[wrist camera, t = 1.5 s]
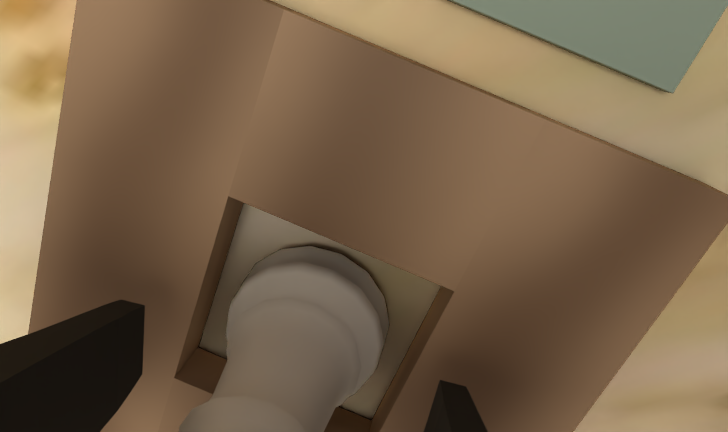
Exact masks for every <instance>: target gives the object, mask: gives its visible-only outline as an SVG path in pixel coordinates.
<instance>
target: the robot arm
mask: <svg viewBox="0 0 728 432" xmlns="http://www.w3.org/2000/svg"><path fill="white" fill-rule="evenodd" d="M144 319H145V305H142V304H138V303H134V302H130V301H126V300H122V299H121V300H118V301H115V302H111V303H109V304H106V305H103V306H100V307H98V308H95V309H92V310H90V311H87V312H85V313H82V314H79V315H77V316H74V317H72V318H69V319H67V320H64V321H62V322H59V323H56V324H54V325H51V326H49V327H46V328H43V329H41V330H38V331H36V332H33V333H30V334H28V335H25V336H22V337H19V338H16V339H13V340H11V341H8V342H5V343H2V344H0V432H100V431H101V430H102V429H103V427H104V426H105V425H106V424H107V423H108V422H109V421H110V419H111V418H112V417H113V416H114V415H115V413H116V412H117V411H118V410H119V408H120V407H121V405H122V404H123V402H124V401H125V400H126V398H127V397H128V395H129V394H130V392H131V391H132V389H133V388H134V386H135V385H136V383H137V382H138V380H139V379H140V377H141V376H142V371H143V345H144ZM424 432H488V431H487V429H486V426H485V424H484V422H483V420H482V418H481V416H480V414H479V412H478V410H477V408H476V406H475V403H474V401H473V399H472V397H471V395H470V392H469V391H468V389H467V387H466V386H462V385H458V384H455V383H451V382H447V381H443V380H440V381H439V384H438V387H437V390H436V394H435V397H434V400H433V403H432V407H431V410H430V413H429V416H428V420H427V423H426V426H425V429H424Z"/></svg>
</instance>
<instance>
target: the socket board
mask: <svg viewBox="0 0 728 432" xmlns="http://www.w3.org/2000/svg"><path fill="white" fill-rule="evenodd" d="M243 203H246V204H248V205H251V206H253V207H255V208H258V209H260V210H262V211H265V212H267V213H270V214H272V215H274V216H277V217H279V218H281V219H284V220H286V221H289V222H291V223H293V224H296V225H298V226H300V227H303V228H305V229H308V230H310V231H312V232H315V233H317V234H319V235H322V236H324V237H327V238H329V239H331V240H334V241H336V242H338V243H341V244H343V245H346V246H348V247H350V248H353V249H355V250H357V251H360V252H362V253H365V254H367V255H369V256H372V257H374V258H376V259H379V260H381V261H384V262H386V263H388V264H391V265H393V266H395V267H398V268H400V269H403V270H405V271H407V272H410V273H412V274H414V275H417V276H419V277H422V278H424V279H426V280H429V281H431V282H433V283H436V284H438V285H441V288H440V290H439V292H438V294H437V296H436V298H435V300H434V302H433V304H432V305H431V307H430V309H429V311H428V313H427V315H426V317H425V319H424V321H423V323H422V325H421V327H420V329H419V331H418V332H417V334H416V336H415V338H414V340H413V342H412V344H411V346H410V348H409V350H408V352H407V354H406V356H405V357H404V359H403V361H402V363H401V365H400V367H399V369H398V371H397V373H396V375H395V377H394V379H393V381H392V383H391V384H390V386H389V388H388V390H387V392H386V394H385V396H384V398H383V400H382V402H381V404H380V406H379V408H378V409H377V411H376V413H375V415H374V417H373V419H372V421H371V420H369V419H366V418H364V417H361V416H359V415H357V414H354V413H352V412H350V411H347V410H345V409H342V408H340V407H336V408H335V410H334V412H333V414H332V416H331V418H330V420H329V422H328V424H327V426H326V428H325V430H324V432H424V429H425V426H426V423H427V420H428V416H429V413H430V410H431V407H432V403H433V400H434V397H435V394H436V390H437V387H438V384H439V381H440V380H443V381H447V382H451V383H455V384H458V385H462V386H466V387H467V389H468V391H469V392H470V395H471V397H472V399H473V401H474V403H475V406H476V408H477V410H478V412H479V414H480V416H481V418H482V420H483V422H484V424H485V426H486V429H487V431H488V432H573V431H574V430H575V429H576V427H577V426H578V424H579V423H580V422H581V420H582V419H583V418H584V416H585V415H586V414H587V412H588V411H589V410H590V408H591V407H592V406H593V404H594V403H595V401H596V400H597V399H598V397H599V396H600V395H601V393H602V392H603V391H604V389H605V388H606V387H607V385H608V384H609V383H610V381H611V380H612V378H613V377H614V376H615V374H616V373H617V372H618V370H619V369H620V368H621V366H622V365H623V364H624V362H625V361H626V359H627V358H628V357H629V355H630V354H631V353H632V351H633V350H634V349H635V347H636V346H637V345H638V343H639V342H640V341H641V339H642V338H643V336H644V335H645V334H646V332H647V331H648V330H649V328H650V327H651V326H652V324H653V323H654V322H655V320H656V319H657V318H658V316H659V315H660V313H661V312H662V311H663V309H664V308H665V307H666V305H667V304H668V303H669V301H670V300H671V299H672V297H673V296H674V294H675V293H676V292H677V290H678V289H679V288H680V286H681V285H682V284H683V282H684V281H685V280H686V278H687V277H688V276H689V274H690V273H691V271H692V270H693V269H694V267H695V266H696V265H697V263H698V262H699V261H700V259H701V258H702V257H703V255H704V254H705V253H706V251H707V250H708V248H709V247H710V246H711V244H712V243H713V242H714V240H715V239H716V238H717V236H718V235H719V234H720V232H721V231H722V230H723V228H724V227H725V225H726V224H727V223H728V195H727V194H725V193H723V192H721V191H719V190H717V189H715V188H713V187H711V186H709V185H707V184H705V183H703V182H700V181H698V180H696V179H693V178H691V177H688V176H686V175H684V174H681V173H679V172H676V171H674V170H672V169H669V168H667V167H665V166H662V165H660V164H657V163H655V162H653V161H650V160H648V159H646V158H643V157H641V156H638V155H636V154H634V153H631V152H629V151H627V150H624V149H622V148H619V147H617V146H615V145H612V144H610V143H608V142H605V141H603V140H600V139H598V138H596V137H593V136H591V135H589V134H586V133H584V132H581V131H579V130H577V129H574V128H572V127H570V126H567V125H565V124H562V123H560V122H558V121H555V120H553V119H551V118H548V117H546V116H543V115H541V114H539V113H536V112H534V111H532V110H529V109H527V108H524V107H522V106H520V105H517V104H515V103H513V102H510V101H508V100H505V99H503V98H501V97H498V96H496V95H494V94H491V93H489V92H486V91H484V90H482V89H479V88H477V87H474V86H472V85H470V84H467V83H465V82H463V81H460V80H458V79H455V78H453V77H451V76H448V75H446V74H444V73H441V72H439V71H436V70H434V69H432V68H429V67H427V66H425V65H422V64H420V63H417V62H415V61H413V60H410V59H408V58H406V57H403V56H401V55H398V54H396V53H394V52H391V51H389V50H387V49H384V48H382V47H379V46H377V45H375V44H372V43H370V42H368V41H365V40H363V39H360V38H358V37H356V36H353V35H351V34H349V33H346V32H344V31H341V30H339V29H337V28H334V27H332V26H330V25H327V24H325V23H322V22H320V21H318V20H315V19H313V18H311V17H308V16H306V15H303V14H301V13H299V12H296V11H294V10H292V9H289V8H287V7H284V6H282V5H280V4H277V3H275V2H272V1H270V0H77V3H76V10H75V16H74V23H73V30H72V37H71V44H70V51H69V57H68V64H67V71H66V78H65V85H64V92H63V99H62V105H61V112H60V119H59V126H58V133H57V140H56V147H55V153H54V160H53V167H52V174H51V181H50V188H49V194H48V201H47V208H46V215H45V222H44V229H43V236H42V242H41V249H40V256H39V263H38V270H37V277H36V284H35V290H34V297H33V304H32V311H31V318H30V325H29V331H28V334H30V333H33V332H36V331H38V330H41V329H43V328H46V327H49V326H51V325H54V324H56V323H59V322H62V321H64V320H67V319H69V318H72V317H74V316H77V315H79V314H82V313H85V312H87V311H90V310H92V309H95V308H98V307H100V306H103V305H106V304H109V303H111V302H115V301H118V300H121V299H122V300H126V301H130V302H134V303H138V304H142V305H145V319H144V345H143V371H142V376H141V377H140V379H139V380H138V382H137V383H136V385H135V386H134V388H133V389H132V391H131V392H130V394H129V395H128V397H127V398H126V400H125V401H124V402H123V404H122V405H121V407H120V408H119V410H118V411H117V412H116V413H115V415H114V416H113V417H112V418H111V419H110V421H109V422H108V423H107V424H106V425H105V426H104V427H103V429H102V430H101V431H100V432H179V427H180V425H181V424H182V423H183V421H184V420H185V418H186V417H187V416H188V414H189V413H190V412H191V410H192V409H193V408H195V407H198V406H200V405H202V404H204V403H206V402H208V401H209V400H210V398H211V397H212V395H213V393H214V391H215V389H216V386H217V384H218V381H219V379H220V377H221V374H222V372H223V370H224V367H225V365H226V363H227V360H226V359H224V358H221V357H219V356H217V355H214V354H212V353H209V352H207V351H205V350H202V349H200V348H198V346H199V343H200V340H201V336H202V333H203V330H204V327H205V324H206V320H207V317H208V314H209V311H210V308H211V304H212V301H213V298H214V295H215V292H216V288H217V285H218V282H219V279H220V276H221V272H222V269H223V266H224V263H225V260H226V257H227V253H228V250H229V247H230V244H231V241H232V237H233V234H234V231H235V228H236V225H237V221H238V218H239V215H240V212H241V209H242V205H243Z"/></svg>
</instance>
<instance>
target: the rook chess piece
mask: <svg viewBox="0 0 728 432" xmlns="http://www.w3.org/2000/svg"><path fill="white" fill-rule="evenodd" d="M388 328H389V320H388V314H387V309H386V303H385V298H384V296H383V294H382V293H381V291H380V290H379V288H378V287H377V286H376V284H375V283H374V281H373V280H372V278H371V277H370V275H369V274H368V272H367V271H365V270H364V269H362V268H361V267H359V266H358V265H357V264H355V263H354V262H352V261H351V260H349V259H348V258H346V257H345V256H344V255H342V254H340V253H336V252H332V251H328V250H324V249H320V248H317V247H313V246H305V247H297V248H288V249H280V250H278V251H277V252H275V253H273V254H271V255H270V256H268V257H266V258H264V259H263V260H261V261H259V262H257V263H256V264H255V265H254V267H253V268H252V270H251V271H250V273H249V274H248V276H247V277H246V279H245V280H244V282H243V283H242V284H241V288H240V289H239V290H238V292H237V293H236V295H235V296H234V298H233V299H232V301H231V304H230V308H229V313H228V321H227V329H226V339H227V342H228V344H227V351H226V354H227V357H228V360H227V363H226V365H225V367H224V370H223V372H222V374H221V377H220V379H219V381H218V384H217V386H216V389H215V391H214V393H213V395H212V397H211V398H210V400H209V401H208V402H206V403H204V404H202V405H200V406H198V407H195V408H193V409H192V410H191V412H190V413H189V414H188V416H187V417H186V418H185V420H184V421H183V423H182V424H181V425H180V427H179V432H324V430H325V428H326V426H327V424H328V422H329V420H330V418H331V416H332V414H333V412H334V410H335V408H336V407H338V406H340V405H342V404H343V402H344V401H345V400H346V399H347V398H348V397H350V396H352V395H354V394H355V393H356V392H357V391H358V390H359V389H360V388H361V387H362V385H363V384H364V383H365V382H366V381H367V380H368V379H369V378H370V376H371V375H372V374H373V373H374V371H375V370H376V368H377V366H378V362H379V358H380V355H381V351H382V350H383V346H384V343H385V339H386V335H387V332H388Z"/></svg>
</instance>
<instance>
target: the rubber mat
mask: <svg viewBox="0 0 728 432" xmlns="http://www.w3.org/2000/svg"><path fill="white" fill-rule="evenodd" d="M448 1H451V2H453V3H455V4H458V5H460V6H462V7H465V8H467V9H470V10H472V11H474V12H477V13H479V14H481V15H484V16H486V17H489V18H491V19H493V20H496V21H498V22H500V23H503V24H505V25H508V26H510V27H512V28H515V29H517V30H519V31H522V32H524V33H527V34H529V35H531V36H534V37H536V38H538V39H541V40H543V41H546V42H548V43H550V44H553V45H555V46H557V47H560V48H562V49H565V50H567V51H569V52H572V53H574V54H576V55H579V56H581V57H584V58H586V59H588V60H591V61H593V62H595V63H598V64H600V65H603V66H605V67H607V68H610V69H612V70H615V71H617V72H619V73H622V74H624V75H626V76H629V77H631V78H634V79H636V80H638V81H641V82H643V83H645V84H648V85H650V86H653V87H655V88H657V89H660V90H662V91H664V92H669V93H674V91H675V89H676V88H677V86H678V85H679V83H680V81H681V80H682V78H683V76H684V75H685V73H686V72H687V70H688V68H689V67H690V65H691V64H692V62H693V60H694V59H695V57H696V56H697V54H698V52H699V51H700V49H701V47H702V46H703V44H704V43H705V41H706V39H707V38H708V36H709V35H710V33H711V31H712V30H713V28H714V27H715V25H716V23H717V22H718V20H719V19H720V17H721V15H722V14H723V12H724V10H725V9H726V7H727V6H728V0H448Z"/></svg>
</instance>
